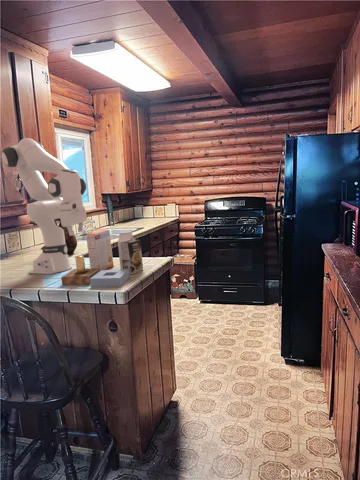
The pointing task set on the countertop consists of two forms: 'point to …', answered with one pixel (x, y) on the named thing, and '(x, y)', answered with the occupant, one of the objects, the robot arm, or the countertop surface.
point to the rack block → (79, 277)
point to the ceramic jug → (68, 239)
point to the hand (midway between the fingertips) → (76, 233)
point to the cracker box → (100, 249)
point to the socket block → (110, 278)
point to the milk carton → (123, 238)
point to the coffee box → (131, 256)
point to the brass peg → (80, 264)
